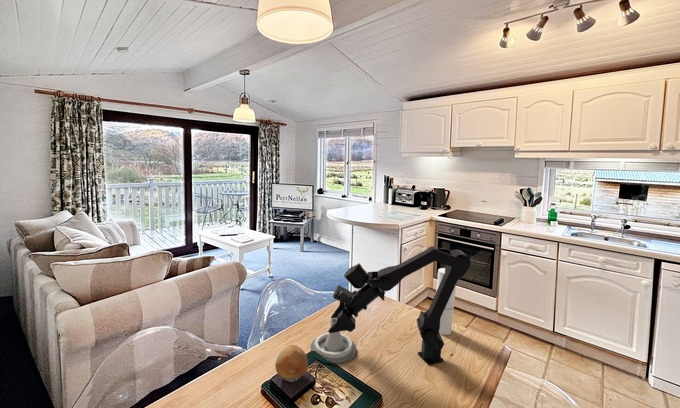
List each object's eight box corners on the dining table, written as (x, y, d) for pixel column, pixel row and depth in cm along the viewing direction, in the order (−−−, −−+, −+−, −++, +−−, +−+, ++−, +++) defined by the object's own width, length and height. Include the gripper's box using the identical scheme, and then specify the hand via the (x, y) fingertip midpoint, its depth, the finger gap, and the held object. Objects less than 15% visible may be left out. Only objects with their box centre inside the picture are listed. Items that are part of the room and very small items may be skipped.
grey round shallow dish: (363, 359, 105) (363, 352, 105) (317, 368, 99) (318, 360, 99) (345, 334, 120) (346, 327, 119) (305, 340, 114) (305, 333, 114)
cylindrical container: (448, 326, 129) (454, 268, 126) (453, 335, 122) (459, 275, 119) (431, 324, 130) (436, 267, 126) (434, 334, 123) (440, 273, 119)
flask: (319, 348, 108) (320, 321, 107) (330, 338, 114) (331, 313, 113) (337, 355, 104) (338, 328, 103) (347, 345, 111) (349, 319, 109)
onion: (269, 375, 95) (269, 345, 94) (297, 363, 101) (298, 335, 100) (284, 395, 87) (285, 362, 86) (313, 380, 94) (314, 350, 92)
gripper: (348, 270, 115) (318, 296, 117) (346, 291, 97) (310, 322, 99) (368, 292, 116) (338, 318, 118) (370, 317, 97) (333, 346, 99)
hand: (330, 324), depth 108 cm, fingers open, 9 cm apart
